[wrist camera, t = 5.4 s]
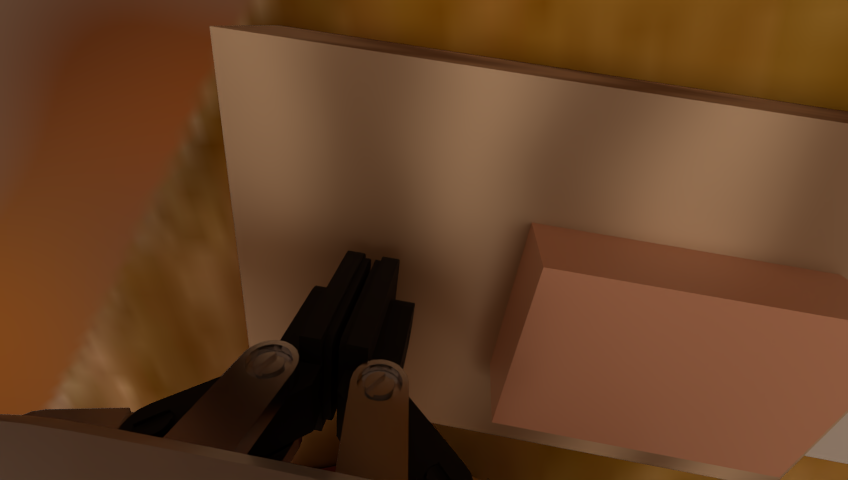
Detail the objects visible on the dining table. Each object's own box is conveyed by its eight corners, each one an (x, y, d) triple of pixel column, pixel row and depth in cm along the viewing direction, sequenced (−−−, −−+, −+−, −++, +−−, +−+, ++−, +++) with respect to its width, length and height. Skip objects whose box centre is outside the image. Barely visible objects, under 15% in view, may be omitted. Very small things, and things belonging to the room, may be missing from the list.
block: (840, 274, 11) (924, 333, 9) (734, 408, 14) (779, 477, 12) (531, 222, 12) (543, 267, 10) (490, 363, 15) (491, 422, 13)
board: (932, 124, 13) (1101, 161, 9) (719, 406, 20) (770, 488, 16) (277, 24, 14) (209, 25, 10) (292, 326, 21) (254, 388, 17)
